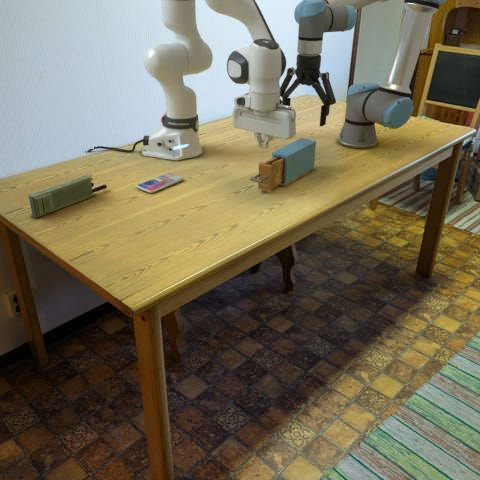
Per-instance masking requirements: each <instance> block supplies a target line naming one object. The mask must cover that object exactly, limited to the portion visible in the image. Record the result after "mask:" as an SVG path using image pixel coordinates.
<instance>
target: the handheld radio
mask: <svg viewBox="0 0 480 480" xmlns="http://www.w3.org/2000/svg"><path fill="white" fill-rule="evenodd" d="M92 176H93V174H91V173H88V174H85V175H83V176H79V177H76V178H74V179H71V180H68V181H65V182H62V183H59V184H57V185H54V186H50V187H47V188H44V189H42V190H39V191H37V192H33V193H30V194H28V200H29V206H30V210H31V216H32V217H34V218H35V219H36V218H39V217H42V216H45V215H47V214H50V213H53V212H56V211H58V210H60V209H63V208H66V207H68V206H72V205H73V204H76V203H80V202H82V201H84V200H87V199H90V198H93V196H95V195H96V194H95V193H97V192H100V191H102V190H106V189H107V188H108V186H107V184H102V185H99V186H96V187H94V186H95V183H94V182H92V181H93V180H94V178H93V177H92ZM93 187H94V188H93Z"/></svg>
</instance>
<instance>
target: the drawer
mask: <svg viewBox="0 0 480 480" xmlns="http://www.w3.org/2000/svg"><path fill="white" fill-rule="evenodd" d="M284 168H285V158H282V157H278V156H276V157H274V158H272V157H271V158H270V159H268V160H266V161H265V162H262V161H261V162H259V163H258V174H256V175H253V176H250V178H249V181H252V182H255V183H257V189H258V190H262V191H265V192H268V193H271V192H272V191H273V189H274V188H275V187H277V186H280V185H279V184H280V183H282V182H284Z"/></svg>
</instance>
